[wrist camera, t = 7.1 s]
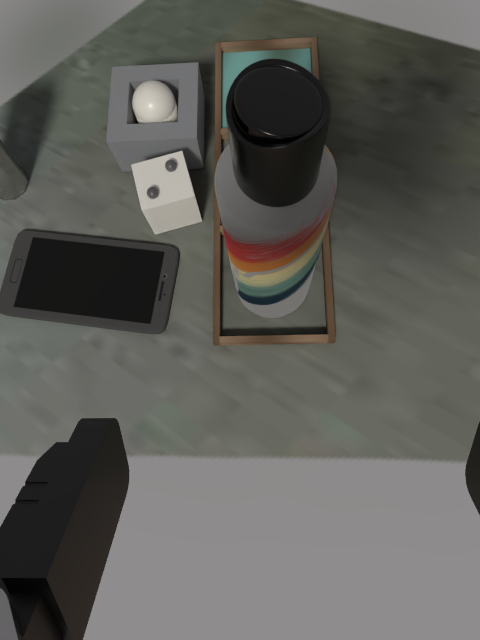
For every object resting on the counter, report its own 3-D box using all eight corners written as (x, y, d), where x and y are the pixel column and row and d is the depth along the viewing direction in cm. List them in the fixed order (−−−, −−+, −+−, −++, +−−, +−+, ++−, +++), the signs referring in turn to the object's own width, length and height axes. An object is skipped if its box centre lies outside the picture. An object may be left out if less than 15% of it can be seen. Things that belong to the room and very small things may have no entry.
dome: (183, 112, 38) (171, 68, 34) (182, 146, 38) (170, 106, 33) (144, 113, 39) (127, 71, 34) (142, 147, 38) (125, 108, 33)
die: (190, 180, 37) (180, 145, 33) (202, 221, 36) (193, 192, 32) (145, 192, 37) (128, 160, 33) (155, 234, 36) (139, 206, 32)
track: (315, 44, 40) (316, 37, 39) (333, 343, 33) (335, 340, 32) (216, 50, 41) (215, 42, 40) (214, 345, 34) (212, 343, 33)
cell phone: (21, 232, 38) (17, 228, 37) (182, 249, 36) (181, 246, 36) (-2, 315, 36) (-8, 313, 35) (166, 337, 35) (164, 334, 34)
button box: (205, 98, 39) (198, 62, 36) (203, 168, 38) (196, 138, 34) (127, 102, 40) (112, 66, 36) (122, 171, 38) (106, 141, 34)
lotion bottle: (224, 268, 35) (172, 65, 16) (289, 239, 36) (314, 5, 16) (254, 331, 34) (237, 192, 15) (321, 300, 34) (392, 124, 15)
